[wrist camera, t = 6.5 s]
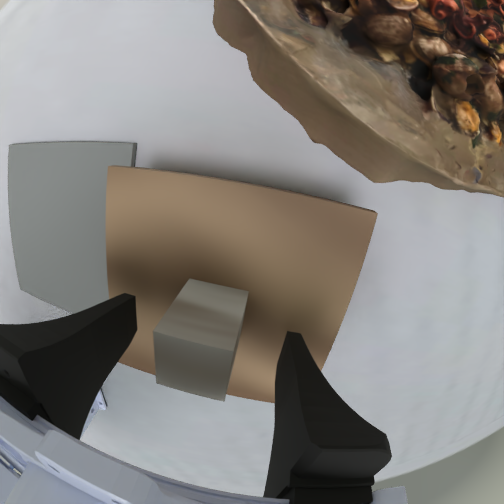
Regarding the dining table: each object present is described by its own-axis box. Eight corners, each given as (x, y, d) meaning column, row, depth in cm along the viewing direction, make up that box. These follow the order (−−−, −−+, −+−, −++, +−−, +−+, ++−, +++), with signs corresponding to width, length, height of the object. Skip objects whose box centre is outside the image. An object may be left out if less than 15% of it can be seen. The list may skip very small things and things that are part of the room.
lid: (303, 400, 17) (304, 463, 12) (121, 356, 17) (87, 405, 12) (373, 210, 12) (421, 246, 7) (114, 165, 13) (44, 178, 8)
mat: (133, 332, 21) (131, 335, 21) (23, 287, 22) (20, 289, 22) (137, 143, 16) (133, 143, 15) (12, 144, 17) (9, 144, 16)
